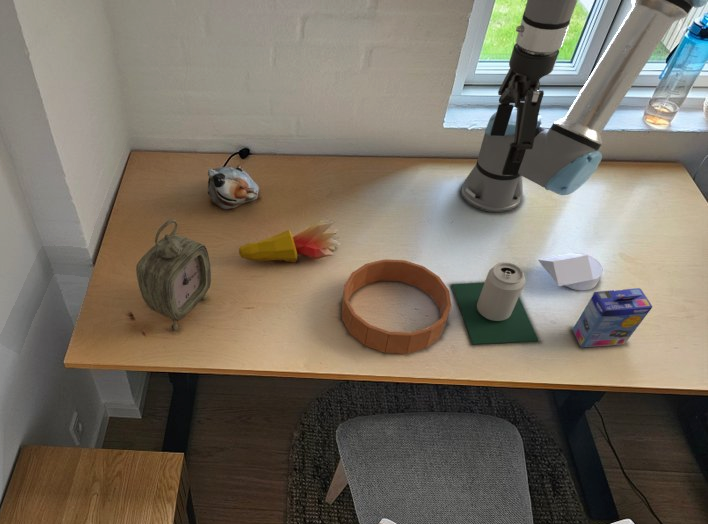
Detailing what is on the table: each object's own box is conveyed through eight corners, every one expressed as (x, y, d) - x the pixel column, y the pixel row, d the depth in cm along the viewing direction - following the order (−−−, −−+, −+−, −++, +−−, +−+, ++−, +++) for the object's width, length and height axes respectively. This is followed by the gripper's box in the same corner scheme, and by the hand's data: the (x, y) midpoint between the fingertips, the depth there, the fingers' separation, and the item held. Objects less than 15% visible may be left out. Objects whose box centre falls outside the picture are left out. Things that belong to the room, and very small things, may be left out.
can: (511, 302, 134) (528, 263, 125) (509, 326, 130) (526, 287, 121) (477, 295, 136) (491, 256, 127) (473, 319, 132) (488, 280, 122)
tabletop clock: (176, 338, 131) (158, 252, 112) (144, 323, 134) (121, 237, 115) (214, 297, 139) (203, 210, 120) (183, 283, 142) (167, 196, 123)
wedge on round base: (553, 296, 136) (605, 286, 137) (564, 275, 131) (617, 264, 132) (532, 270, 141) (583, 260, 143) (542, 248, 136) (594, 238, 138)
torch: (243, 270, 150) (341, 247, 149) (244, 278, 142) (347, 255, 142) (236, 238, 147) (335, 215, 146) (237, 245, 139) (342, 221, 139)
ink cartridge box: (581, 349, 126) (610, 302, 115) (570, 329, 129) (597, 281, 118) (627, 345, 126) (660, 298, 115) (614, 326, 130) (646, 277, 119)
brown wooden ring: (342, 276, 142) (344, 257, 137) (439, 280, 140) (444, 261, 136) (341, 350, 128) (344, 332, 123) (450, 356, 126) (456, 337, 121)
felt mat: (451, 285, 139) (451, 284, 139) (511, 282, 139) (511, 280, 139) (472, 345, 127) (472, 343, 127) (538, 341, 128) (538, 340, 127)
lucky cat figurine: (267, 189, 164) (270, 165, 151) (246, 225, 162) (247, 204, 149) (220, 164, 165) (218, 138, 152) (198, 200, 163) (195, 176, 149)
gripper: (502, 15, 112) (474, 120, 128) (529, 81, 96) (494, 191, 112) (543, 15, 111) (510, 120, 127) (578, 81, 95) (535, 192, 111)
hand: (503, 153), depth 120 cm, fingers open, 13 cm apart
